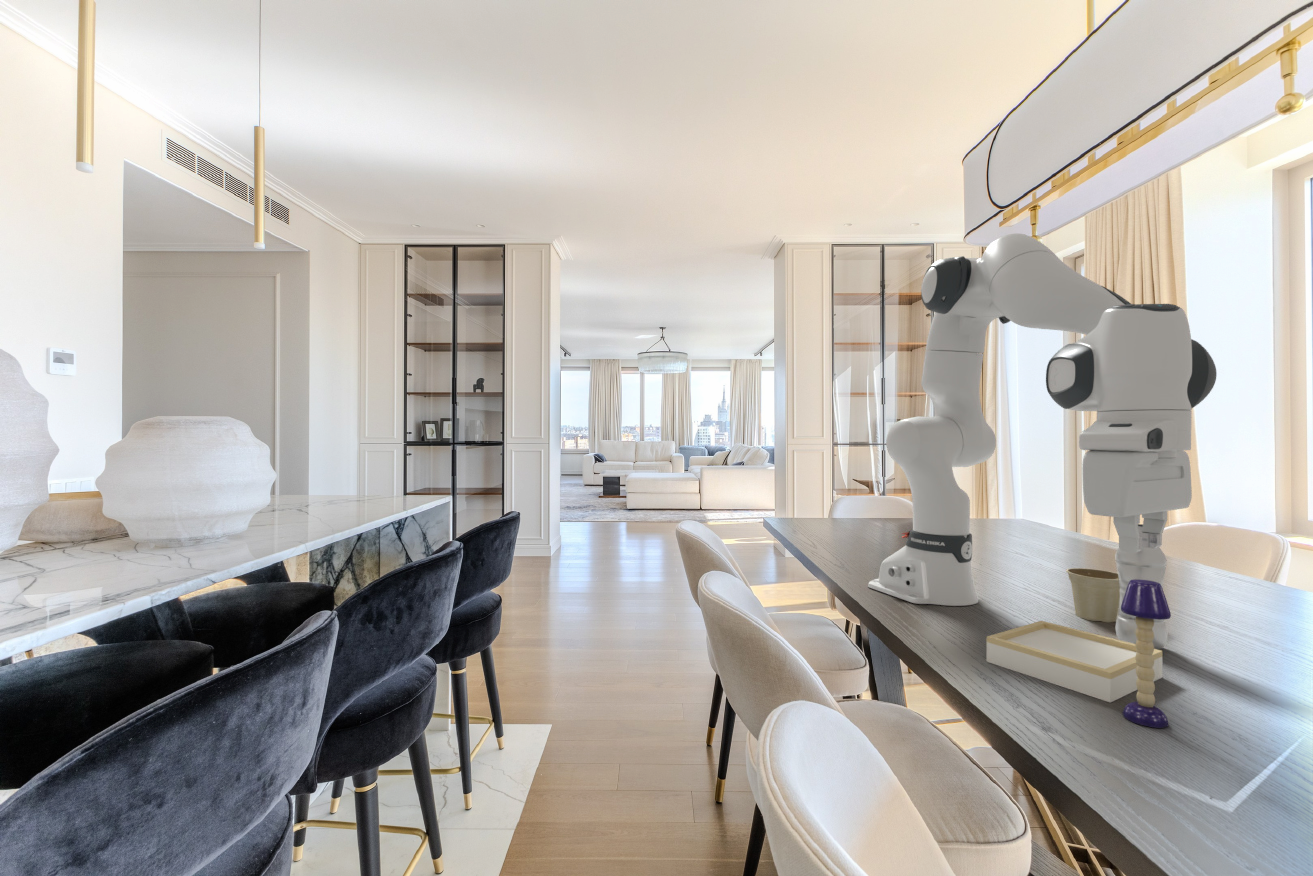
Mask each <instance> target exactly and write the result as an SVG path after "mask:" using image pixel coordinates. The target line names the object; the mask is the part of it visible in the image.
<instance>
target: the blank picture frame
mask: <svg viewBox="0 0 1313 876" xmlns="http://www.w3.org/2000/svg"><path fill="white" fill-rule="evenodd" d="M1136 653H1137V650H1136V646H1135V644H1133V643H1129V642H1125V641H1121V640H1119V639H1118V638H1112V637H1109V636H1104V635H1100V634H1096V633H1093V632H1089V631H1085V630H1081V629H1078V628H1072V627H1069V626H1065V625H1060V624H1056V623H1052V622H1049V621H1044V620H1039V621H1035V622H1032V623H1029V624H1025V625H1021V626H1018V627H1015V628H1011V629H1008V630H1005V631H1001V632H998V633H994V634H991V635H987V636H986V663H990V664H993V665H996V666H999V667H1002V668H1005V669H1008V670H1011V671H1014V672H1016V673H1020V674H1023V675H1025V676H1029V677H1032V678H1035V679H1038V680H1042V681H1044V682H1046V683H1050V684H1053V685H1057V686H1060V687H1063V688H1064V689H1069V690H1072V691H1074V692H1077V693H1080V694H1082V695H1083V694H1084V695H1085V696H1086V695H1087V696H1090V697H1091V698H1096V699H1099V700H1101V701H1104V702H1107V703H1113V702H1115V701H1117V700H1119V699H1121V698H1123V697H1125V696H1128V695H1129V694H1132V693H1133V692H1135V691H1138V689H1137V686H1136V681H1137V678H1138V677H1137V675H1136V667H1137V665H1138V664H1137V663H1136V659H1135V657H1136ZM1152 655H1153V658H1154V665H1153V667H1152V668H1153V669H1154V673H1155V677H1154V679H1153V682H1154V683H1155V682H1156V681H1158V680H1160V679H1162V678H1163V650H1162V649H1159V650H1157V649H1154V652H1153V654H1152Z"/></svg>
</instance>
